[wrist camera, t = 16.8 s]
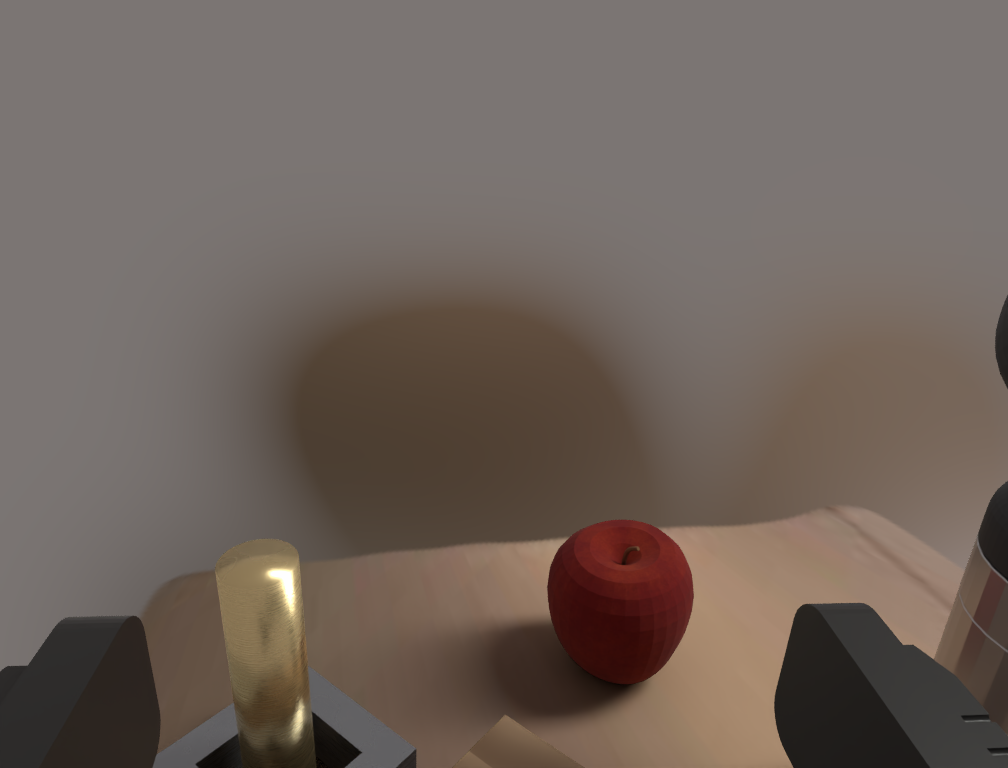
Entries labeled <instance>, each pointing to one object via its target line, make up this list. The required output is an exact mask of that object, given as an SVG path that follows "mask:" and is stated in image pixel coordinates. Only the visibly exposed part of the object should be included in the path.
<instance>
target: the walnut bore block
mask: <svg viewBox="0 0 1008 768" xmlns="http://www.w3.org/2000/svg"><path fill="white" fill-rule="evenodd" d="M452 768H584V767H583V766H581V765H580V764H578V763H577V762H575V761H574V760H572V759H571V758H569V757H568V756H566V755H565V754H563V753H562V752H560V751H559V750H557V749H556V748H554V747H553V746H551V745H550V744H548V743H547V742H545V741H544V740H542V739H541V738H539V737H538V736H536V735H535V734H533V733H532V732H530V731H529V730H527V729H526V728H524V727H523V726H521V725H520V724H518V723H517V722H515V721H514V720H513V719H511V718H510V717H508V716H507V715H504V716H503V717H502V718H501V719H500V720H499V721H498V722H497V723H496V724H495V725H494V726H493V727H492V728H491V729H490V730H489V731H488V732H487V733H486V734H485V735H484V736H483V737H482V738H481V739H480V740H479V741H478V742H477V743H476V744H475V745H474V746H473V747H472V748H471V749H470V750H469V751H468V752H467V753H466V754H465V755H464V756H463V757H462V758H461V759H460V760H459V761H458V762H457V763H456V764H455V765H454V766H453V767H452Z"/></svg>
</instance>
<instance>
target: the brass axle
mask: <svg viewBox="0 0 1008 768" xmlns="http://www.w3.org/2000/svg"><path fill="white" fill-rule="evenodd" d="M215 572H216V579H217V586H218V593H219V601H220V608H221V615H222V622H223V629H224V636H225V644H226V651H227V658H228V665H229V672H230V679H231V687H232V694H233V701H234V708H235V715H236V722H237V730H238V737H239V744H240V751H241V758H242V765H243V768H316V756H315V744H314V732H313V721H312V709H311V697H310V685H309V673H308V661H307V649H306V638H305V626H304V614H303V602H302V590H301V578H300V566H299V555H298V552H297V550H296V549H295V548H294V547H293V546H292V545H291V544H289V543H287V542H284V541H281V540H276V539H258V540H252V541H248V542H244V543H242V544H239V545H237V546H235V547H233V548H231V549H229V550H228V551H227V552H225V553H224V554H223V555H222V556H221V557H220V558H219V560H218V562H217V563H216V567H215Z"/></svg>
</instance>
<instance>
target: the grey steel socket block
mask: <svg viewBox="0 0 1008 768" xmlns="http://www.w3.org/2000/svg"><path fill="white" fill-rule="evenodd" d="M308 673H309V685H310V697H311V709H312V721H313V732H314V744H315V756H316V757H317V758H318V759H320V760H321V761H322V762H323V763H324V764H325V765H326V766H328V767H329V768H416V748H414V747H413V746H412V745H411V744H409V743H408V742H407V741H405V740H404V739H403V738H401V737H400V736H399V735H398V734H396V733H395V732H394V731H392V730H391V729H390V728H388V727H387V726H386V725H385V724H383V723H382V722H381V721H379V720H378V719H377V718H376V717H374V716H373V715H372V714H370V713H369V712H368V711H366V710H365V709H364V708H363V707H361V706H360V705H359V704H357V703H356V702H355V701H353V700H352V699H351V698H350V697H348V696H347V695H346V694H344V693H343V692H342V691H340V690H339V689H338V688H337V687H335V686H334V685H333V684H331V683H330V682H329V681H327V680H326V679H325V678H324V677H322V676H321V675H320V674H318V673H317V672H316V671H315V670H313V669H312V668H311V667H309V666H308ZM153 768H243V765H242V758H241V751H240V744H239V737H238V730H237V722H236V715H235V708H234V703H232V704H231V705H229V706H228V707H227V708H225V709H224V710H222V711H221V712H219V713H218V714H216V715H215V716H213V717H212V718H210V719H209V720H207V721H206V722H204V723H203V724H201V725H200V726H198V727H197V728H196V729H194V730H193V731H191V732H190V733H188V734H187V735H185V736H184V737H182V738H181V739H179V740H178V741H176V742H175V743H173V744H172V745H170V746H169V747H167V748H166V749H164V750H163V751H162V752H160V753H159V754H157V755H156V758H155V761H154V765H153Z"/></svg>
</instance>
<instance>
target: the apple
mask: <svg viewBox="0 0 1008 768" xmlns="http://www.w3.org/2000/svg"><path fill="white" fill-rule="evenodd" d="M547 588H548V602H549V610H550V615H551V620H552V623H553V626H554V629H555V632H556V634H557V636H558V638H559V640H560V642H561V644H562V646H563V648H564V649H565V650H566V652H567V653H568V654H569V656H570V657H571V658H572V659H573V660H574V661H575V662H576V663H577V664H578V665H579V666H580V667H581V668H583V669H584V670H585V671H587V672H588V673H590V674H592V675H594V676H596V677H598V678H600V679H603V680H605V681H608V682H612V683H618V684H634V683H638V682H642V681H644V680H646V679H648V678H650V677H651V676H653V675H654V674H656V673H657V672H658V671H659V670H660V669H661V668H662V667H663V666H664V665H665V664H666V663H667V661H668V660H669V659H670V657H671V656H672V654H673V653H674V651H675V649H676V648H677V646H678V645H679V643H680V641H681V639H682V637H683V635H684V633H685V631H686V628H687V625H688V622H689V619H690V615H691V612H692V605H693V598H694V593H693V582H692V574H691V571H690V568H689V565H688V563H687V560H686V558H685V556H684V554H683V552H682V551H681V549H680V547H679V546H678V545H677V544H676V543H675V542H674V541H673V540H672V539H671V538H670V537H669V536H667V535H666V534H665V533H663V532H662V531H661V530H659V529H658V528H656V527H654V526H652V525H649V524H646V523H643V522H638V521H633V520H611V521H605V522H601V523H597V524H594V525H591V526H588V527H586V528H583V529H581V530H579V531H577V532H576V533H574V534H573V535H572V536H571V537H570V538H569V539H568V540H567V541H566V542H565V543H564V544H563V545H562V546H561V547H560V548H559V549H558V551H557V553H556V555H555V557H554V559H553V562H552V564H551V567H550V572H549V579H548V586H547Z"/></svg>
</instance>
